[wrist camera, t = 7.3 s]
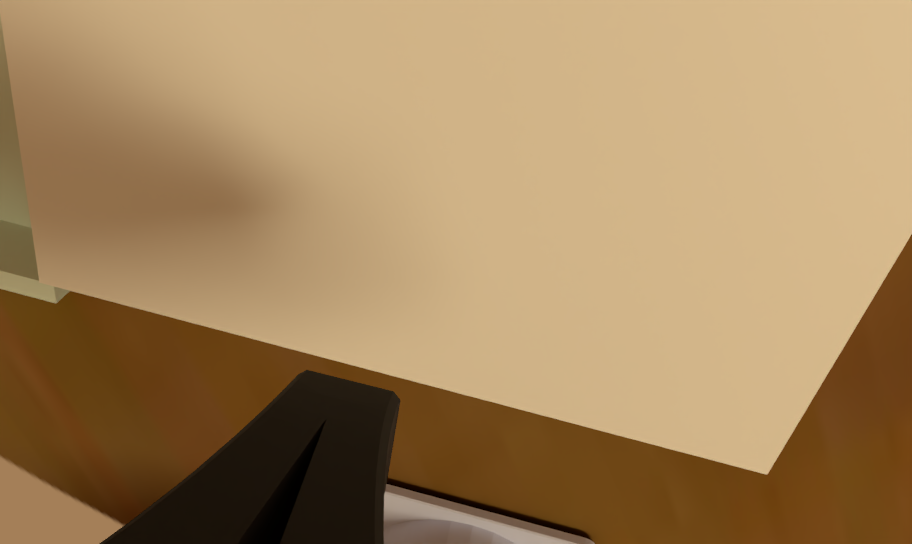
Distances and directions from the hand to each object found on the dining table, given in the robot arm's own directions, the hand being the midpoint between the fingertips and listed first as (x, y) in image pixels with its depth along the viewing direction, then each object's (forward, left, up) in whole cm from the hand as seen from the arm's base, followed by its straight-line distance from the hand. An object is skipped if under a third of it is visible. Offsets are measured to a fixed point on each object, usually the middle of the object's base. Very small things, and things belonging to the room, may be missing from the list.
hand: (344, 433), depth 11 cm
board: (+3, 0, -9) cm, 10 cm away
